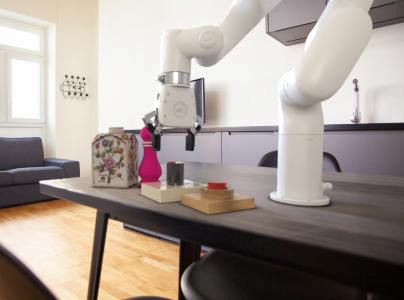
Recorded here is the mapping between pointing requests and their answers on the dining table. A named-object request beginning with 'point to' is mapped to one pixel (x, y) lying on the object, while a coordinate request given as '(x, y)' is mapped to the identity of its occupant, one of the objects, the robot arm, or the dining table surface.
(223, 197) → the button block
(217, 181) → the button
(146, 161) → the pepper mill
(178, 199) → the panel
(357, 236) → the dining table surface
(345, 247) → the dining table surface
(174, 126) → the robot arm
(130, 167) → the decorative jar
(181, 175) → the dark grey block
